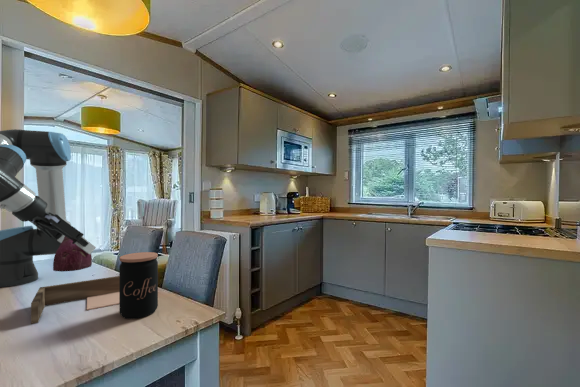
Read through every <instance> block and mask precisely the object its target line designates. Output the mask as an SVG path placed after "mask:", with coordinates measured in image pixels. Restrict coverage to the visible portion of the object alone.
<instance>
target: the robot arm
mask: <svg viewBox="0 0 580 387" xmlns="http://www.w3.org/2000/svg"><path fill="white" fill-rule="evenodd" d="M71 151H72V149H71V146H70V142H69V140H68V138H67V136H66V135H65V134H63V133H61V132H55V131H46V130H45V131H44V130H27V129H26V130H25V129H18V128H17V129H5V130H0V209H4V210H6V211H7V212H10V213H11V215H13V217H15V218H17V219H19V220H20V221H22V223H23V222H26V223H27V222H30V223H32V224H33V225H34V226H35V227H36V228H34V226H33V225H25V226H17V227H10V228H5V229H1V230H0V288H3V287H4V288H6V287H15V286H20V285H23V284H29V283H32V282H34V281H36V280H38V279H39V273H38V270H37V268H36V266H35V262H34V256H35V257H36V256H48V255H51V256H52V255H55V253H56V251H57V250H58V248H59V246H60V244H61V243H62V241H63V240H64V237H65V236H66V237H67V238H69V239H71V240H72V241H74V242H73V243H72V244H76V245H77V246H78V247H80V248H81V249H82V250H84V251H85V252H86V253H88V254H91V255H92V253H93V252H94V251H95V250H96V249H97V247H96V246H95V245H94V244H92V243H91V242H90V241H89V240H88V239H86V238H85V237H83V236H84V235H85V234H84V233H83V232H81V231H80V230H78V229H77V228H76V227H74V226H72V224H71V222H70V221H68V219H67V215H66V214H67V213H66V201H65V186H64V185H65V184H64V172H63V170H64V168H65V167H66V166H67V162H70V161H71V159H72V155H71V154H72V152H71ZM27 160H29V163H30V166H31V167H33V168H35V173H36V184H37V185H36V186H37V194H38V195H36V193H35V191H34V190H32V189H31V188H29V187H28V186H27V185H26V184H24V183H23V182H21V181H20V180H19V179H18V178H17V174H18V173H19V172H20V171H21V170H22V169H23V168H24V166H25V164H26V161H27Z"/></svg>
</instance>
